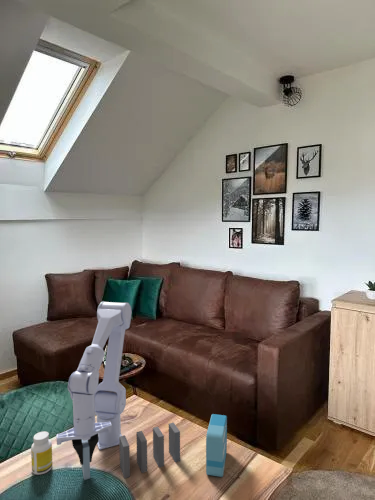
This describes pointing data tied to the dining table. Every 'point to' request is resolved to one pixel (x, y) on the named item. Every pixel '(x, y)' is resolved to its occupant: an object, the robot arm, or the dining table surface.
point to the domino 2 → (141, 451)
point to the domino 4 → (174, 442)
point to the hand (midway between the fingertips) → (85, 461)
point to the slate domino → (86, 460)
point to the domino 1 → (124, 456)
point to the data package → (216, 445)
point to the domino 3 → (158, 446)
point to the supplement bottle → (41, 453)
